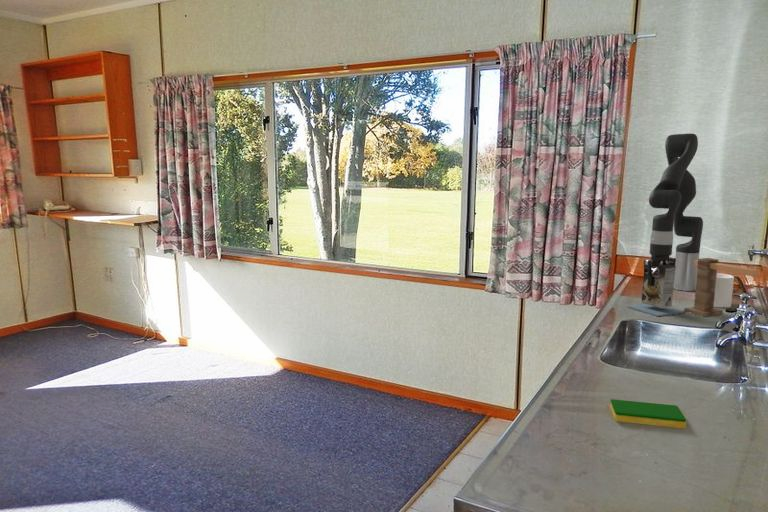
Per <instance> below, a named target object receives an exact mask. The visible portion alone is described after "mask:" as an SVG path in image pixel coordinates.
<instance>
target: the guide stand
mask: <svg viewBox="0 0 768 512" xmlns="http://www.w3.org/2000/svg"><path fill="white" fill-rule="evenodd" d="M710 262H715V263H719V262H720V261H719V259H718V258H711V257H706V258H705V257H703V258H699V259H698V265H697V268H698V271H697V282H696V290H695V292H694V295H695V297H694V303H693V304H694V306H690V307H684V310H683V311H685V312H686V311H687V312H686V313H689V312H691V313H690V314H693V313H694V315H697V314H698V316H700V315H702V316H701V317H708V316H707V315H710V316H715V315H714V314H717V315H722V314H723V310H722V309H720V308H713V306H714V296H715V286H716V276H717V273H718V270H715V269H710V268H709V265H710ZM721 313H722V314H721Z"/></svg>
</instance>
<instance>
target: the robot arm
mask: <svg viewBox="0 0 768 512" xmlns="http://www.w3.org/2000/svg"><path fill="white" fill-rule="evenodd" d="M664 144H665V145H664V146H665V149H664V150H665V154H666V159H667V164H668V166H667V167H666V168H665V169H664V171H663V173H662V175H661V178H660V181H659V183H657V185H656V186H655V187H654V189H652V191H650V194H649V196H648V203H649V206H651V208H653V209H667V210H668V211H667V212H665V213H663V214H661V213H660V214H655V215H654V216H653V217H652V226H651V227H652V228H651V235H650V245H649V254H650V259H643V275H644V274H645V275H647V276H648V286H654V280H655V277H654V276H655V274H656V271H657V267H656V268H655V269H654V268H651V265H662V264H665V265H674V266H676V269H675V278H674V289H673V290H677V291H681V290H682V291H683V292H694V291H695V292H696V282H697V271H698V268H697V266H694V262H695V260H698V259H700V249H701V244H702V243H701V242H702V235H703V227H704V220H703V218H702V217H701V216H689V215H687V216H686V215H684V212H685V210H686V209H687V207H688V206H689V205H690V204H691V203H692V201H693V200H694V199H695V197H696V195H697V185H696V184H697V183H696V179H695V177H694V176H693V174H692V173H691V172H690V171H689V170H688V167H689V166H690V164H691V162H692V161H693V159H694V158H695V155H696V153H697V151H698V146H699V138H698V136H697V135H696V134H695V133H676V134H670V135H668V136H667V137H666V139H665V143H664ZM673 231H674V232H673ZM674 234H675V235H676V236H678V237H685V238H691V240H689V241H687V242H685V243H679V244H677V245H676V246H675V256H674V257H672V255H673V245H674V244H673V242H674ZM670 256H671V257H670ZM647 269H648V272H647ZM651 270H652V271H653V273H651Z"/></svg>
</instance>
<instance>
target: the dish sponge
mask: <svg viewBox="0 0 768 512" xmlns="http://www.w3.org/2000/svg"><path fill="white" fill-rule="evenodd" d="M609 402H610V403H609V409H610V411H611V414H612V416H613V419H614V421H616V422H619V423H620V422H623V423H629V424H630V423H631V424H641V425H650V426H659V427H670V428H677V429H686V428H687V427H686V424H687V418H686V417H685V416H684V414H683V412H682V411H681V409H680V407H679V406H678V405H674V404H664V403H653V402H644V401H643V402H642V401H635V400H634V401H633V400H624V399H616V398H615V399H613V398H612V399H610V401H609Z"/></svg>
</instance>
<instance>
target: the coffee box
mask: <svg viewBox="0 0 768 512" xmlns="http://www.w3.org/2000/svg"><path fill="white" fill-rule="evenodd" d="M656 267H657V271H656V274H655V276H654V277H655V280H654V286H648V276H647V275H645V274H644V273H643V277H642V293H641V301H640V302H641V304H648V305H651V306H655V307H659V308H665V307H671V308H672V306H673V297H674V289H673V288H674V278H675V269H676V266H674V265H665V264H662V265H651V268H654V269H655V268H656ZM647 272H648V269H647ZM651 273H653V271H652V270H651Z"/></svg>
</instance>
